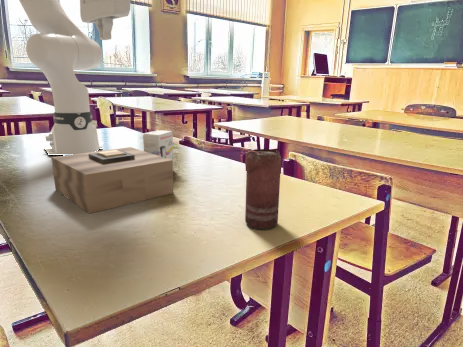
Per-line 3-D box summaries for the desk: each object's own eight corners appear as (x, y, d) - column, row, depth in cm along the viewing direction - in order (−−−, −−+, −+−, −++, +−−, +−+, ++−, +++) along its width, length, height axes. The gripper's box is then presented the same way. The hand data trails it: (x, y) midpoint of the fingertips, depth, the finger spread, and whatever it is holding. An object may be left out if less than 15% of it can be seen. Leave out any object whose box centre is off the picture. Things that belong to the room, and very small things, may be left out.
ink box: (160, 178, 97) (158, 135, 94) (143, 176, 98) (141, 133, 95) (175, 170, 105) (173, 130, 102) (159, 169, 106) (157, 129, 103)
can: (242, 218, 71) (243, 148, 67) (273, 217, 71) (277, 148, 68) (245, 230, 65) (248, 154, 61) (280, 230, 65) (284, 154, 62)
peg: (101, 189, 85) (97, 152, 83) (118, 186, 88) (116, 150, 86) (109, 194, 82) (106, 155, 80) (127, 190, 85) (124, 153, 83)
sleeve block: (55, 190, 86) (51, 153, 83) (132, 175, 99) (130, 143, 97) (89, 213, 72) (85, 169, 69) (173, 193, 85) (172, 155, 83)
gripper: (71, -18, 90) (76, 41, 94) (106, -35, 76) (111, 35, 79) (95, -13, 94) (99, 42, 98) (134, -28, 80) (137, 38, 84)
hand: (105, 39), depth 89 cm, fingers closed
